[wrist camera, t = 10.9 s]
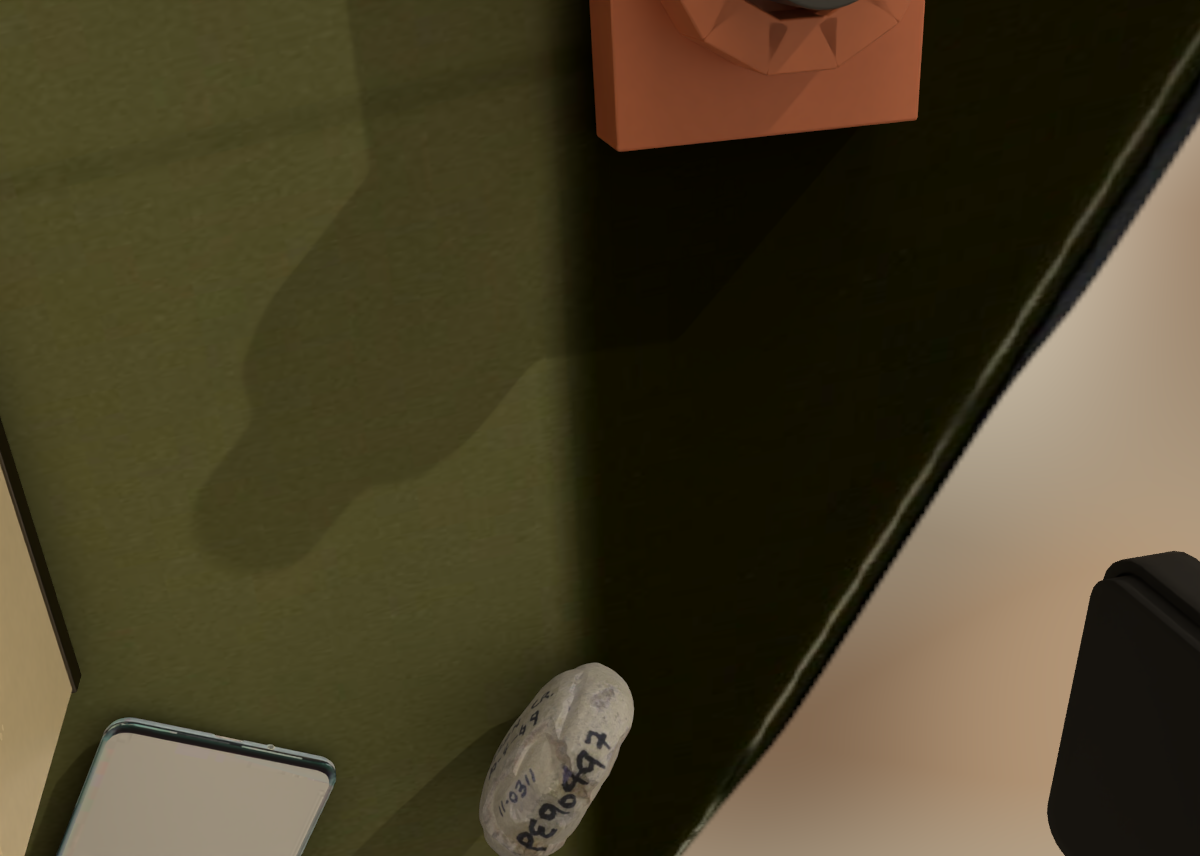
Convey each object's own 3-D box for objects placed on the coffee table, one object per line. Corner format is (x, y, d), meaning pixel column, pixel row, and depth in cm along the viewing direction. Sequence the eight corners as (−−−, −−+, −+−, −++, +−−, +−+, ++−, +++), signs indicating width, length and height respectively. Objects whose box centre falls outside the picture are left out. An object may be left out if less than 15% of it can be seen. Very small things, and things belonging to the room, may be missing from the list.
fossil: (538, 795, 38) (570, 912, 34) (447, 774, 37) (467, 892, 32) (626, 644, 36) (671, 745, 32) (532, 615, 35) (566, 717, 30)
